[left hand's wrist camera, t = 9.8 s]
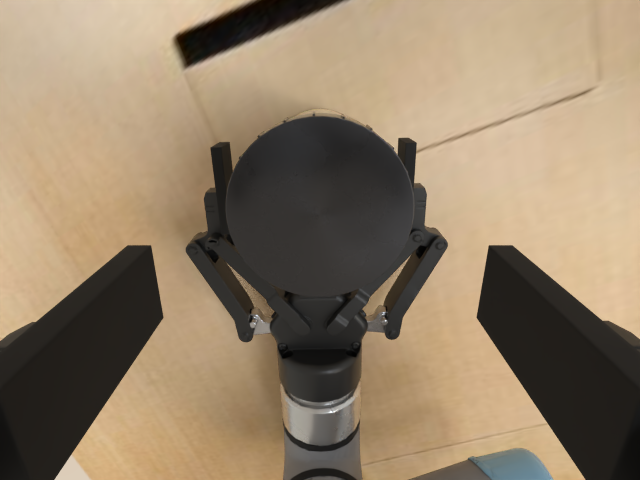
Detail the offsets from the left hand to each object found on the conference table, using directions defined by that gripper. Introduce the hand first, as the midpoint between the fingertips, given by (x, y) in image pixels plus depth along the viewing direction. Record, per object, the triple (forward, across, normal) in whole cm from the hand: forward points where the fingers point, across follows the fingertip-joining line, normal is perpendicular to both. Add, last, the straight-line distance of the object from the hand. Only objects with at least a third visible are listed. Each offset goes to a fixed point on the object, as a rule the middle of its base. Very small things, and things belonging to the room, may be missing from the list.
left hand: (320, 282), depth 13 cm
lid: (+8, 0, 0) cm, 8 cm away
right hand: (+18, 0, -2) cm, 18 cm away
